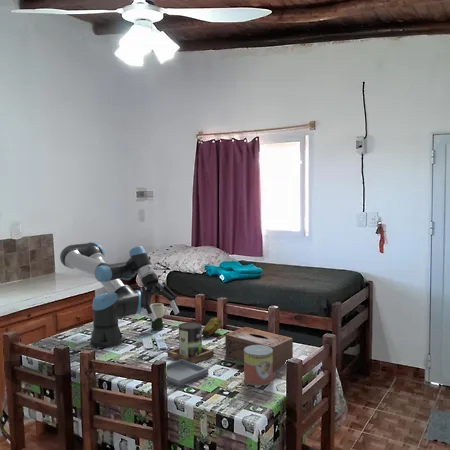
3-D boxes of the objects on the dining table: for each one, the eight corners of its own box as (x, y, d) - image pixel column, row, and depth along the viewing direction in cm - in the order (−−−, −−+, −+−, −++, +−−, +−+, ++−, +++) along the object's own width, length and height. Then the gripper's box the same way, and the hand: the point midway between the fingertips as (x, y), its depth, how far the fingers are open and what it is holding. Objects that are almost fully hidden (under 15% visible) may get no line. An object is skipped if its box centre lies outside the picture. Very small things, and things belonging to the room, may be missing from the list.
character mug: (163, 325, 255) (162, 301, 254) (169, 328, 249) (169, 304, 248) (144, 329, 249) (144, 305, 248) (151, 332, 243) (150, 307, 242)
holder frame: (167, 356, 209) (167, 351, 209) (191, 348, 219) (191, 343, 219) (190, 365, 199) (190, 359, 199) (213, 355, 210) (213, 350, 210)
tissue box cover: (225, 356, 210) (225, 334, 209) (245, 347, 220) (245, 326, 220) (273, 371, 193) (273, 347, 192) (292, 361, 203) (292, 338, 203)
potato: (196, 335, 238) (196, 319, 238) (216, 330, 247) (216, 314, 246) (206, 339, 232) (206, 323, 231) (226, 333, 240) (226, 318, 239)
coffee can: (204, 353, 213) (204, 322, 212) (199, 361, 203) (198, 329, 202) (182, 351, 215) (182, 321, 214) (176, 359, 205) (175, 328, 204)
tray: (152, 376, 188) (152, 370, 188) (181, 364, 200) (181, 358, 199) (179, 387, 178) (179, 380, 177) (208, 374, 189) (208, 368, 189)
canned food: (252, 388, 176) (251, 356, 175) (239, 376, 187) (238, 347, 186) (278, 382, 181) (278, 352, 180) (264, 372, 191) (264, 343, 190)
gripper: (130, 276, 213) (149, 318, 206) (172, 268, 231) (190, 307, 225) (122, 284, 217) (140, 326, 211) (164, 276, 236) (181, 314, 229)
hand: (166, 316), depth 218 cm, fingers open, 13 cm apart
